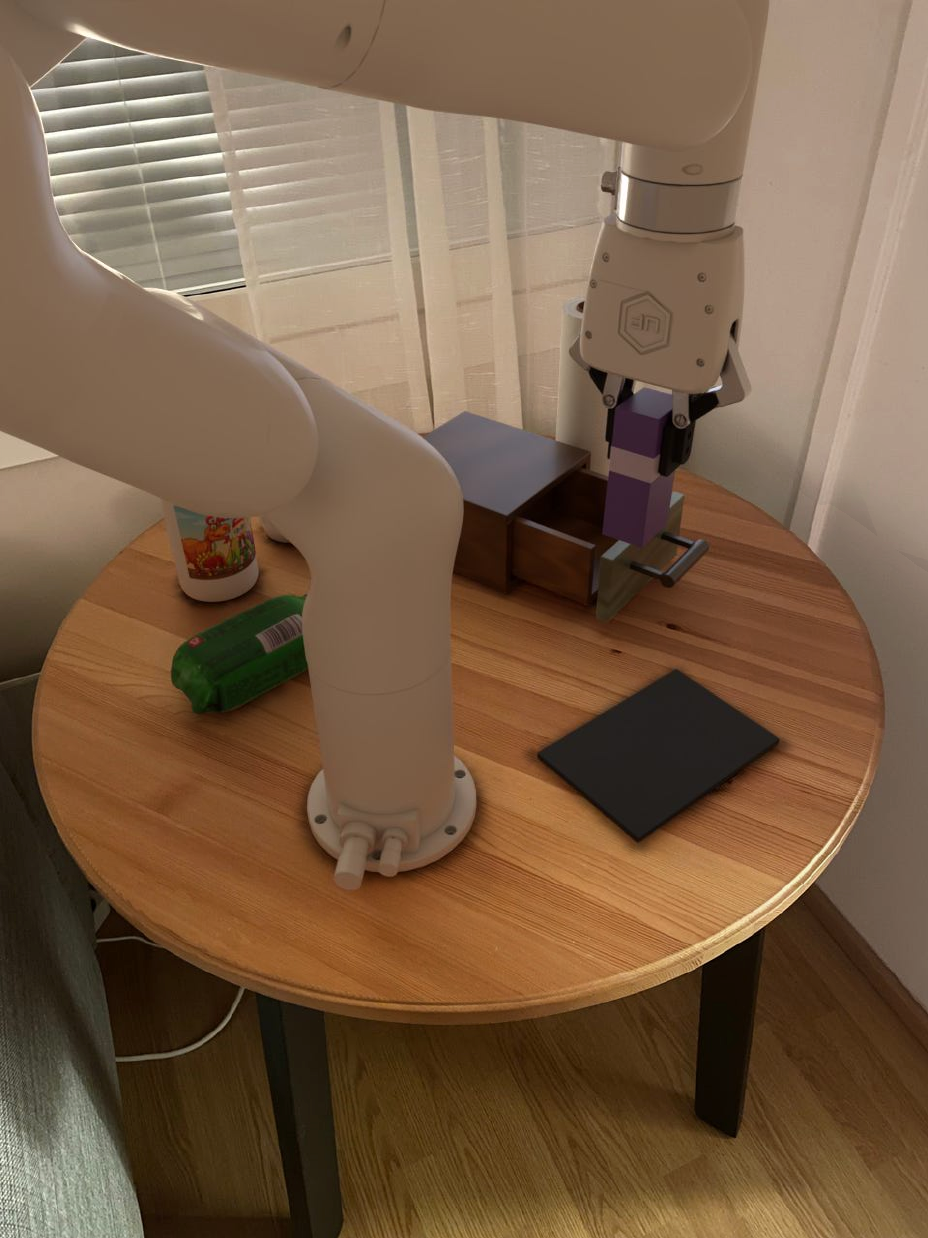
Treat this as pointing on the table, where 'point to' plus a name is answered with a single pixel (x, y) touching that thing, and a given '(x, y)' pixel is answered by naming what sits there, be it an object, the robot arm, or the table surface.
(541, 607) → the table surface
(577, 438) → the paper towel roll
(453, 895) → the table surface
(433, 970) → the table surface
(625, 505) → the snack carton
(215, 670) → the snack package
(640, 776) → the mat
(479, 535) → the cabinet
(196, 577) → the milk bottle
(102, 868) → the table surface
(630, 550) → the drawer
